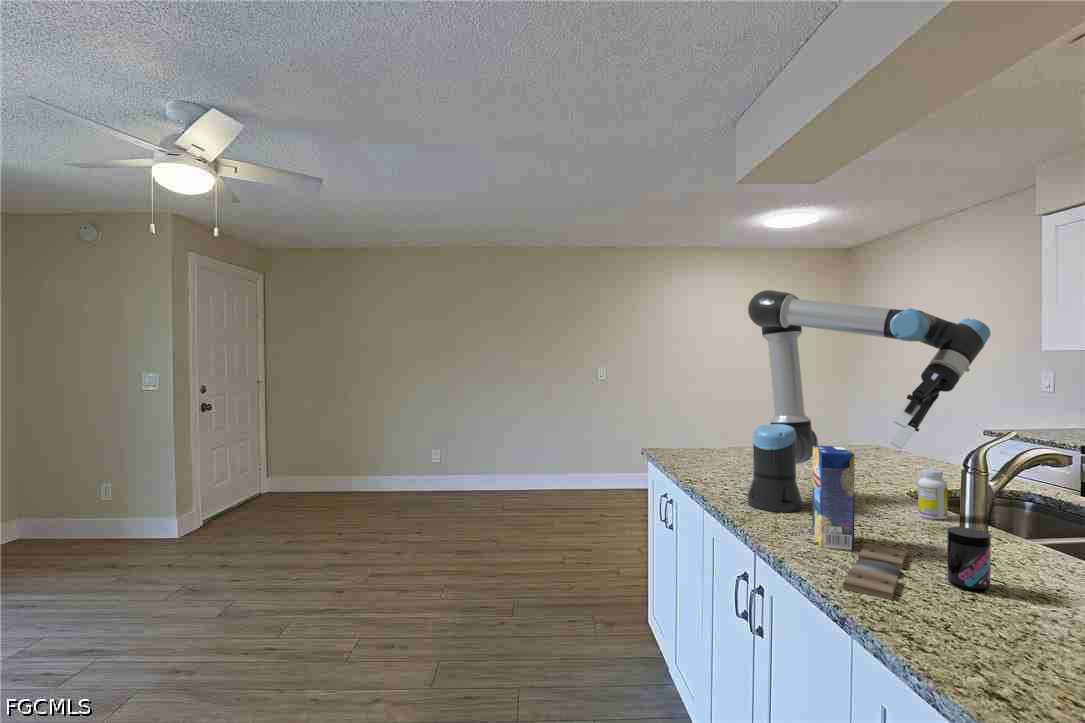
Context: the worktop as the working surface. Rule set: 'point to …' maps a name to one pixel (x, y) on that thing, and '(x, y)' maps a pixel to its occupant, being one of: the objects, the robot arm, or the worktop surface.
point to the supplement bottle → (932, 495)
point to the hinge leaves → (876, 571)
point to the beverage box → (833, 497)
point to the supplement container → (968, 559)
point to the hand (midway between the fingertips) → (897, 435)
